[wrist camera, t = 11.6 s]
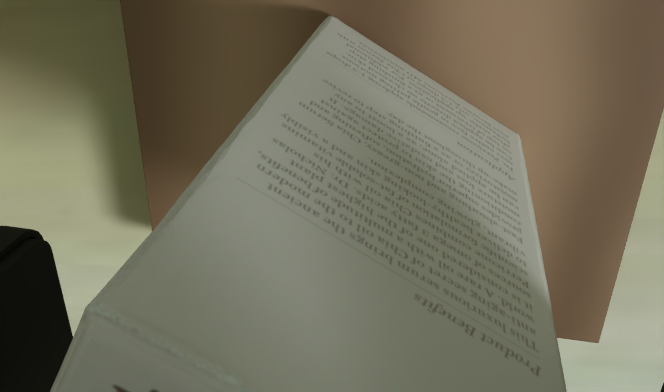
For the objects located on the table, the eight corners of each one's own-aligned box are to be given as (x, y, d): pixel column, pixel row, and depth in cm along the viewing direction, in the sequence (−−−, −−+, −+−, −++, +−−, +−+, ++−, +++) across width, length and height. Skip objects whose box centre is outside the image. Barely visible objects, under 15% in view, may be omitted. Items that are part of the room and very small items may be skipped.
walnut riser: (679, -105, 16) (719, -96, 13) (583, 284, 22) (598, 343, 19) (156, -118, 18) (104, -113, 16) (193, 238, 24) (159, 285, 21)
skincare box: (257, 138, 18) (-31, 521, 8) (330, 9, 16) (72, 294, 6) (435, 248, 19) (392, 741, 8) (529, 137, 17) (630, 610, 6)
